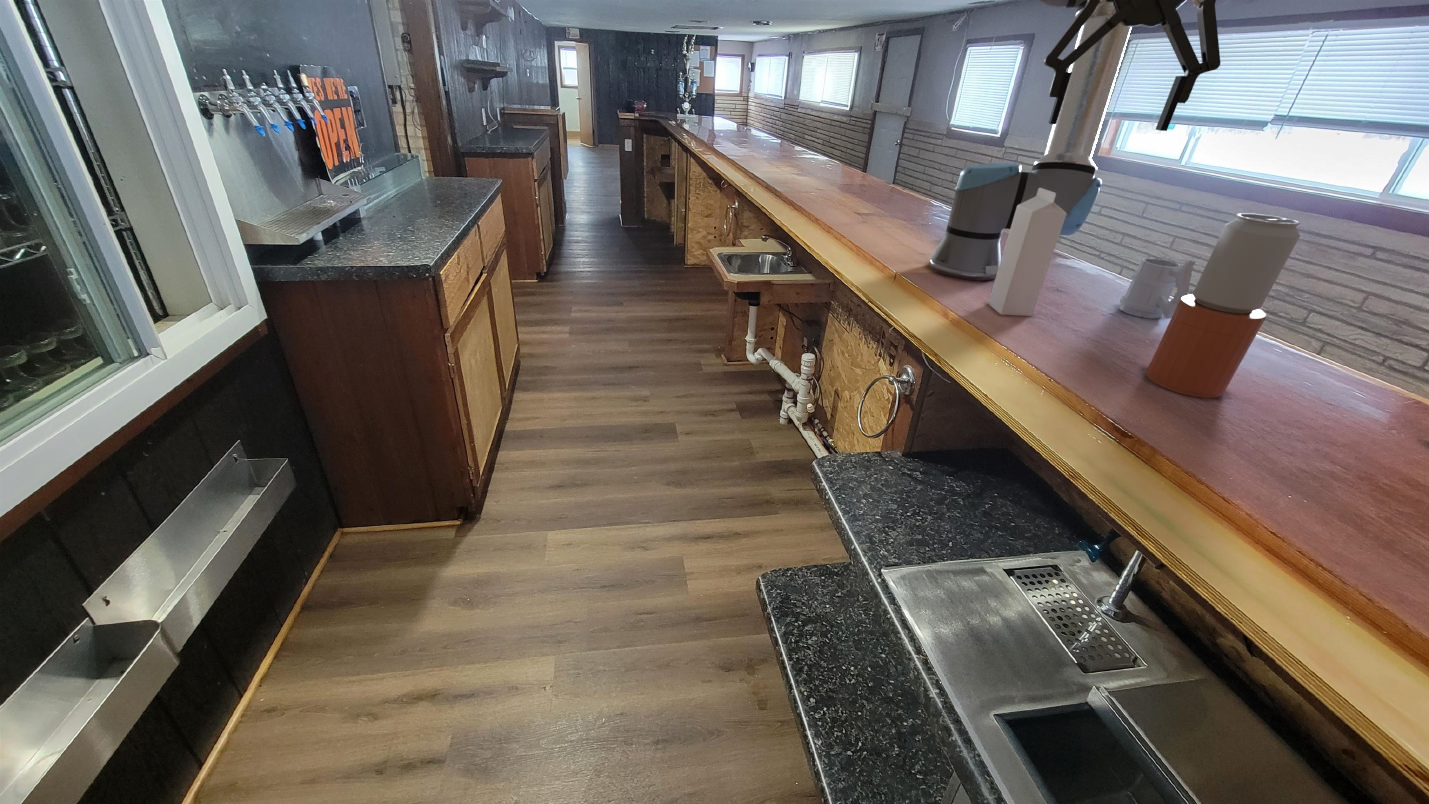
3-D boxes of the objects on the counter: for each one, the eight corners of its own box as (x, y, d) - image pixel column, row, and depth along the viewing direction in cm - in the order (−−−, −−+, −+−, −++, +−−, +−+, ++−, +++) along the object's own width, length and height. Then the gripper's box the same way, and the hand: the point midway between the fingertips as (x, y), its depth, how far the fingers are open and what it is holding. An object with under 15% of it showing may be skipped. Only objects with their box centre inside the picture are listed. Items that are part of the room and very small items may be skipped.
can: (1194, 293, 82) (1235, 208, 76) (1260, 307, 78) (1309, 218, 72) (1184, 304, 78) (1227, 215, 72) (1254, 320, 73) (1306, 226, 67)
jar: (1139, 364, 89) (1173, 290, 83) (1210, 376, 86) (1250, 301, 80) (1154, 389, 81) (1192, 310, 75) (1232, 403, 78) (1279, 323, 72)
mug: (1143, 305, 114) (1169, 246, 108) (1190, 327, 104) (1221, 264, 98) (1108, 305, 114) (1132, 245, 108) (1151, 327, 104) (1181, 263, 98)
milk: (1000, 315, 106) (1038, 192, 95) (987, 304, 111) (1021, 186, 100) (1032, 316, 106) (1073, 194, 95) (1017, 305, 111) (1055, 187, 100)
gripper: (1062, -66, 71) (1011, 122, 81) (1311, -75, 63) (1219, 135, 73) (1055, -54, 77) (1009, 120, 87) (1282, -60, 69) (1201, 131, 79)
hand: (1104, 127), depth 80 cm, fingers open, 13 cm apart
